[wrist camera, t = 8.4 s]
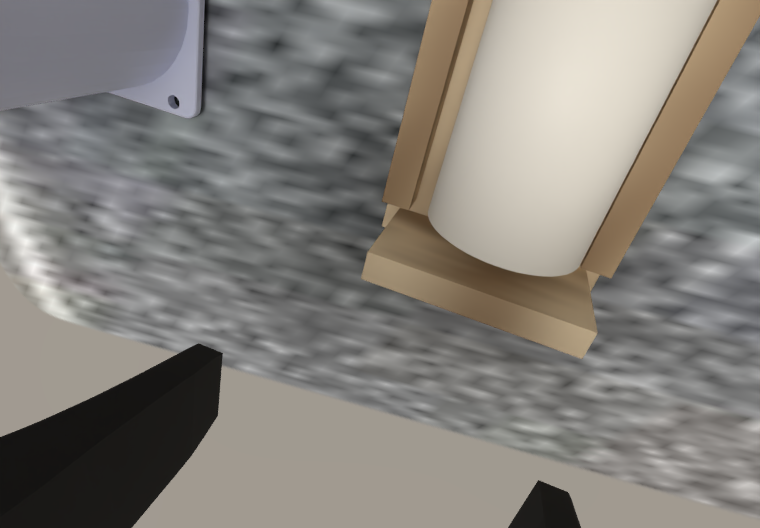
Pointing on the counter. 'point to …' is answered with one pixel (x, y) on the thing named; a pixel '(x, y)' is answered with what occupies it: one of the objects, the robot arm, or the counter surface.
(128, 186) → the counter surface
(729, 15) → the holder
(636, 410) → the counter surface
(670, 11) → the paper roll
